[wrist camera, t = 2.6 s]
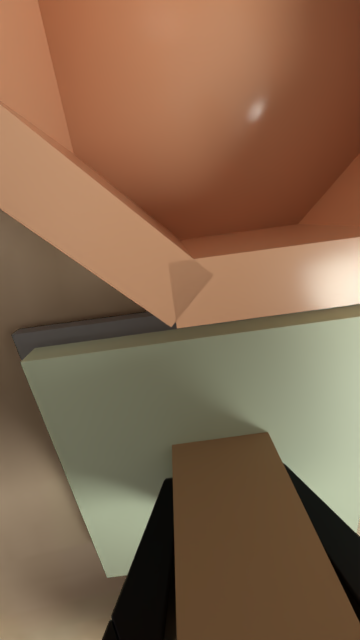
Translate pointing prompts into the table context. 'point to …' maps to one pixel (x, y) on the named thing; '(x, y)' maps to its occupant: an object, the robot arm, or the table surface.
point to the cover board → (200, 403)
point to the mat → (91, 330)
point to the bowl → (189, 148)
